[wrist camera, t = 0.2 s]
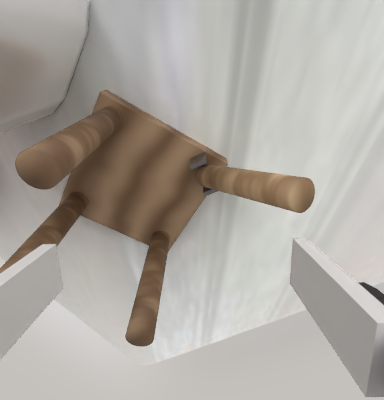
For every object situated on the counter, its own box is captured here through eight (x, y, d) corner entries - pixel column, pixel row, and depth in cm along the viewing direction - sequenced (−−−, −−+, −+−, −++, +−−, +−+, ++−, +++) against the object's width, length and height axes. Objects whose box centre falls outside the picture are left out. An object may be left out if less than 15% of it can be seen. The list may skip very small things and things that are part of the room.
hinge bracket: (204, 151, 37) (205, 158, 34) (218, 181, 39) (220, 190, 37) (190, 158, 38) (189, 165, 35) (204, 187, 40) (204, 196, 37)
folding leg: (209, 160, 36) (309, 170, 23) (218, 178, 38) (317, 199, 24) (192, 172, 35) (287, 191, 22) (202, 191, 37) (296, 219, 23)
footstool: (226, 158, 40) (248, 242, 22) (168, 244, 49) (150, 355, 31) (106, 89, 36) (9, 123, 17) (65, 198, 44) (-27, 295, 26)
